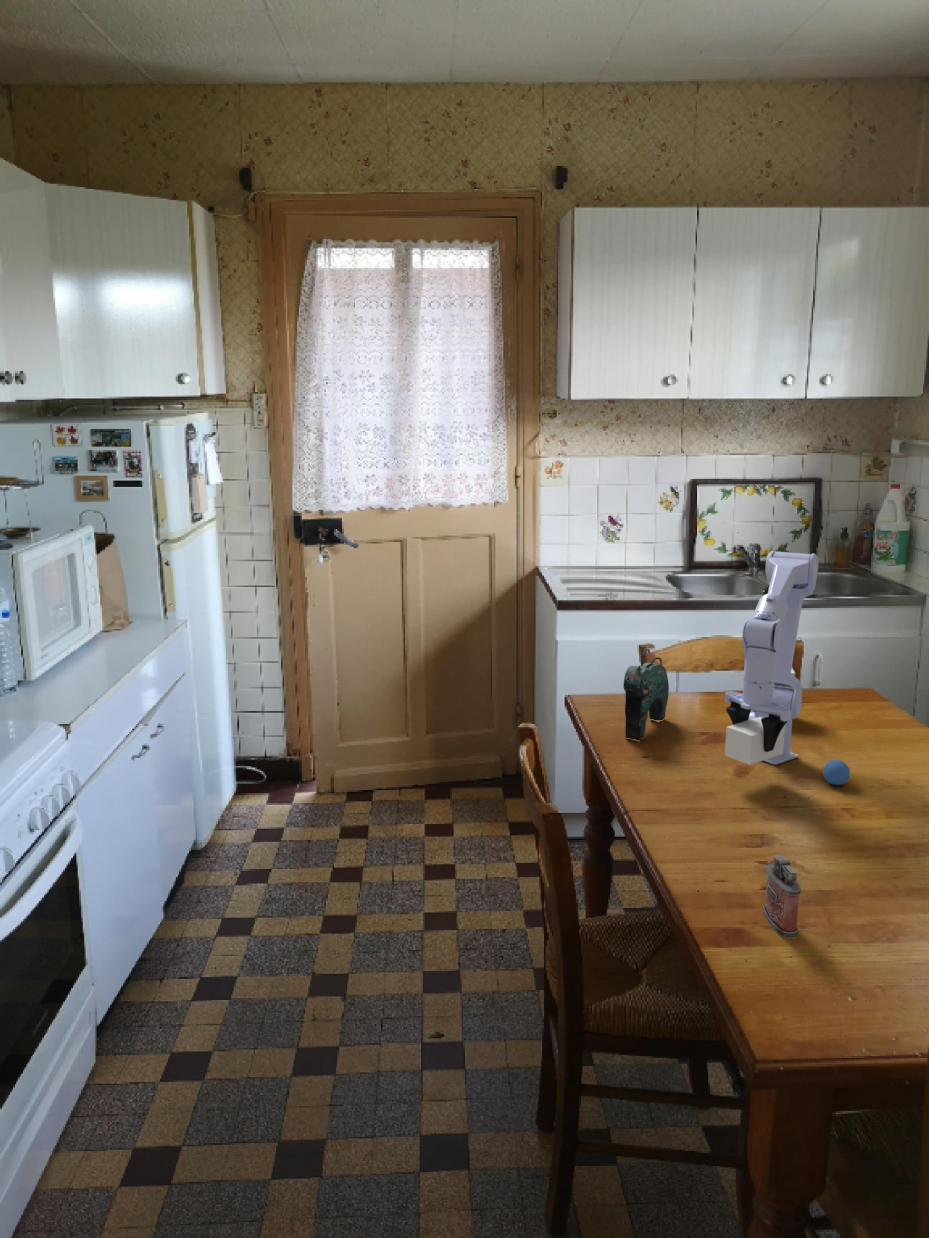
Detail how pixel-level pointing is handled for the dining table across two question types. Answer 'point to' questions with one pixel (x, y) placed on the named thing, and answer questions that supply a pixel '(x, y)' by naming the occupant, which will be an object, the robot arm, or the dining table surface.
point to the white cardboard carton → (750, 742)
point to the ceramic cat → (644, 696)
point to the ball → (836, 772)
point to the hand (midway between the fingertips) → (754, 745)
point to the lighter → (782, 897)
